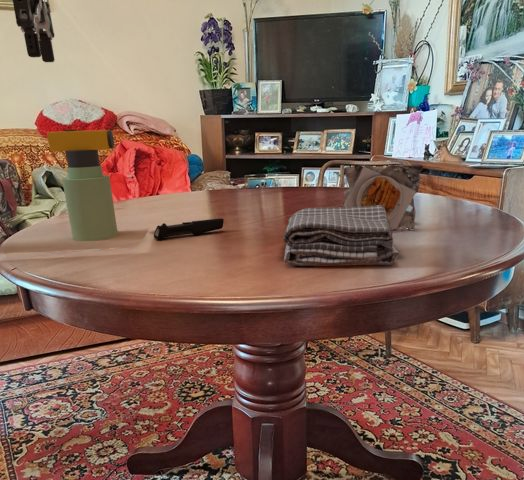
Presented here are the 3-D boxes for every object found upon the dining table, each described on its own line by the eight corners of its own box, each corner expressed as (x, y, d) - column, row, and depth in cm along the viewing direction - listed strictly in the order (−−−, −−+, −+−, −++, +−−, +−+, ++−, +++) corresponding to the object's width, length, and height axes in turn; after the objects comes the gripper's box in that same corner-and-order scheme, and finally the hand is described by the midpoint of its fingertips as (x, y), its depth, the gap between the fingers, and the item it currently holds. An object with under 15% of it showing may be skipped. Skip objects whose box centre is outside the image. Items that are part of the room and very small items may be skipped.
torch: (50, 151, 97) (46, 130, 95) (55, 150, 100) (51, 130, 99) (112, 149, 98) (109, 128, 96) (115, 148, 101) (112, 128, 99)
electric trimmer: (227, 233, 112) (226, 218, 110) (158, 241, 105) (156, 225, 104) (220, 230, 115) (219, 216, 114) (153, 238, 109) (151, 223, 107)
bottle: (69, 248, 102) (50, 152, 94) (79, 239, 110) (64, 149, 103) (114, 246, 102) (100, 150, 95) (122, 237, 111) (109, 148, 103)
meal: (344, 234, 105) (346, 167, 100) (341, 230, 109) (343, 166, 104) (417, 232, 105) (423, 165, 100) (411, 228, 109) (417, 163, 104)
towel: (288, 247, 96) (288, 205, 93) (387, 247, 94) (391, 203, 91) (282, 269, 82) (282, 219, 79) (398, 268, 80) (402, 218, 77)
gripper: (15, -33, 97) (34, 64, 104) (-15, -58, 84) (8, 55, 91) (56, -34, 97) (71, 63, 104) (31, -58, 84) (51, 54, 91)
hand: (42, 59), depth 97 cm, fingers open, 8 cm apart
